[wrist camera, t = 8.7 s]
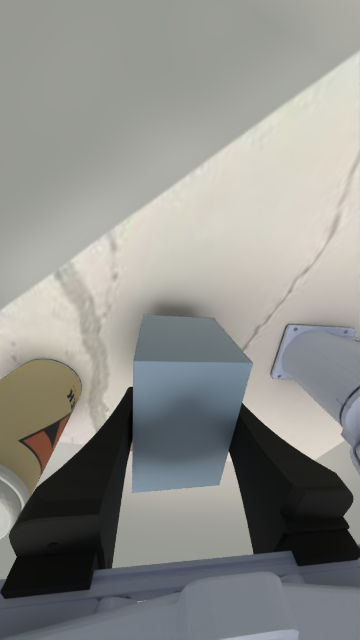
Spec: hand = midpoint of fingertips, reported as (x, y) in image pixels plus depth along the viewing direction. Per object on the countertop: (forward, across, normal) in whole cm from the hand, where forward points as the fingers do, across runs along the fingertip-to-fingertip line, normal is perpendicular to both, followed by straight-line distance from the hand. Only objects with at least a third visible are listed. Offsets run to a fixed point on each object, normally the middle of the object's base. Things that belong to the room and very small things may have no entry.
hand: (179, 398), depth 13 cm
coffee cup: (+10, +15, +7) cm, 19 cm away
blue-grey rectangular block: (+4, 0, 0) cm, 4 cm away
